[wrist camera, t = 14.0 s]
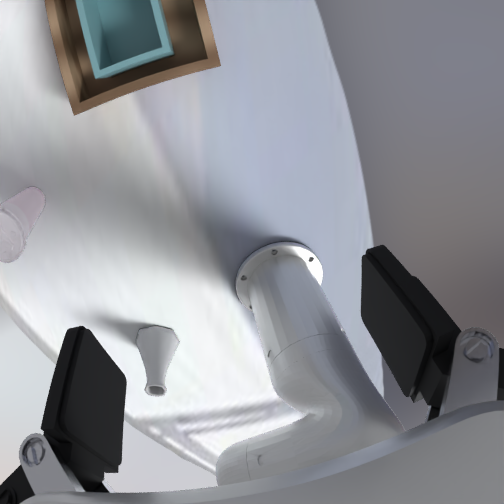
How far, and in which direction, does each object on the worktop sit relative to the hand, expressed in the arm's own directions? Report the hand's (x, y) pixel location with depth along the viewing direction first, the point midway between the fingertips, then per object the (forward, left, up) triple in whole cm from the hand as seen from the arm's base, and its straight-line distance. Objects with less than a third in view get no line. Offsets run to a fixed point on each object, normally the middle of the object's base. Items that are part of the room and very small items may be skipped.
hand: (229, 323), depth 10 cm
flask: (-28, +16, -29) cm, 43 cm away
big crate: (+15, +4, -28) cm, 32 cm away
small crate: (+15, +4, -27) cm, 31 cm away
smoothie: (0, +23, -28) cm, 37 cm away
